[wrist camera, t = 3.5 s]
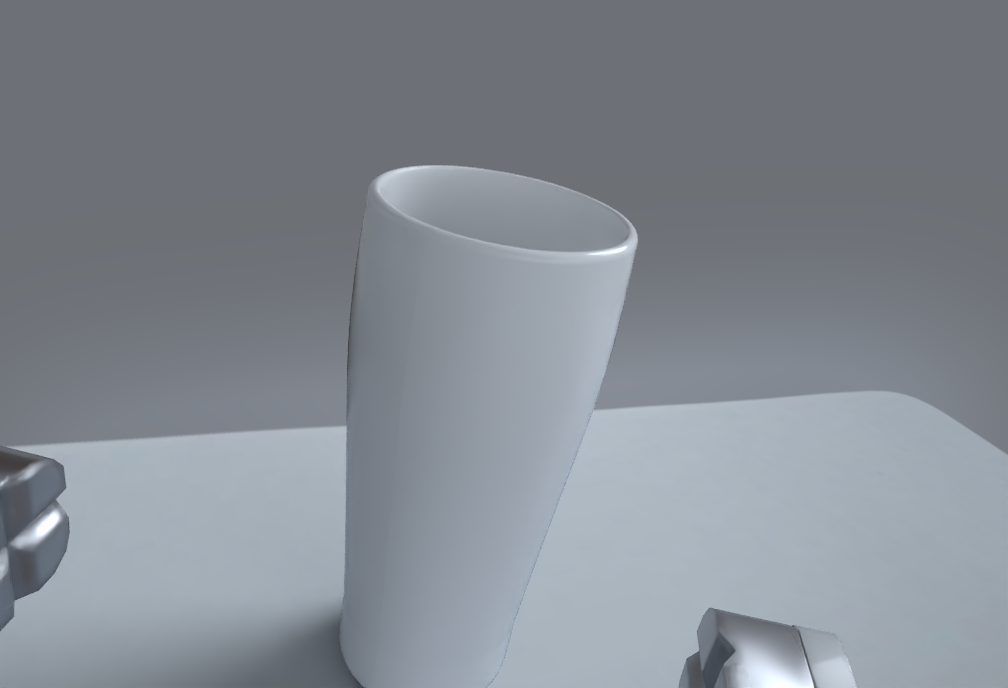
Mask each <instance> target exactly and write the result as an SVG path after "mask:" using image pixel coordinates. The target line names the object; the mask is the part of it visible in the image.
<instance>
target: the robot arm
mask: <svg viewBox="0 0 1008 688" xmlns="http://www.w3.org/2000/svg"><path fill="white" fill-rule="evenodd" d="M65 489H66V482H65V474H64V467H63V465H61V464H60V463H58V462H57V461H56V460H54V459H51V458H47V457H43V456H39V455H35V454H31V453H27V452H23V451H19V450H15V449H11V448H7V447H3V446H0V631H1V630H2V629H3V628H4V627H5V626H6V624H7V623H8V622H9V621H10V620H11V619H12V618H13V617H14V601H15V600H17V599H19V598H22V597H24V596H27V595H29V594H31V593H34V592H36V591H39V590H40V589H41V588H42V587H43V586H44V584H45V583H46V582H47V581H48V580H49V579H50V578H51V577H52V576H53V575H54V573H55V572H56V570H57V568H58V566H59V564H60V562H61V560H62V558H63V556H64V554H65V552H66V549H67V544H68V539H69V533H70V531H69V517H68V515H67V514H66V513H65V511H64V510H63V509H62V507H61V506H60V505H59V503H58V502H57V500H56V499H57V498H58V496H59V495H60V494H61V493H62V492H63V491H64V490H65ZM697 635H698V644H699V652H697V653H695V654H694V655H692V656H690V657H689V658H687V660H686V663H685V666H684V669H683V672H682V675H681V678H680V682H679V688H858V686H857V683H856V680H855V678H854V675H853V672H852V669H851V666H850V664H849V661H848V658H847V655H846V652H845V650H844V647H843V644H842V641H841V640H840V639H839V638H838V637H837V635H836V634H834V633H829V632H825V631H820V630H815V629H810V628H805V627H800V626H795V625H792V626H789V625H786V624H782V623H777V622H772V621H768V620H763V619H759V618H754V617H750V616H745V615H741V614H736V613H731V612H727V611H722V610H718V609H713V608H709V609H708V610H707V611H706V613H705V614H704V615H703V618H702V620H701V623H700V625H699V628H698V630H697Z"/></svg>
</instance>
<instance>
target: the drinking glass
mask: <svg viewBox="0 0 1008 688" xmlns="http://www.w3.org/2000/svg"><path fill="white" fill-rule="evenodd" d="M637 244H638V236H637V232H636V230H635V228H634V226H633V225H632V224H631V223H630V222H629V220H628V219H626V218H625V217H624V216H623V215H622V214H620V213H619V212H618V211H616V210H614V209H613V208H611V207H610V206H608V205H606V204H604V203H602V202H600V201H598V200H596V199H593V198H592V197H589V196H587V195H584V194H582V193H579V192H577V191H574V190H571V189H568V188H565V187H562V186H559V185H556V184H553V183H549V182H546V181H542V180H538V179H534V178H530V177H525V176H521V175H517V174H512V173H507V172H501V171H495V170H488V169H481V168H471V167H461V166H445V165H444V166H443V165H428V166H427V165H426V166H412V167H404V168H399V169H394V170H391V171H388V172H385V173H383V174H381V175H379V176H378V177H376V178H375V179H374V180H373V181H372V182H371V183H370V185H369V187H368V191H367V199H366V206H365V211H364V217H363V223H362V229H361V234H360V241H359V247H358V255H357V261H356V269H355V276H354V285H353V293H352V303H351V314H350V326H349V342H348V365H347V367H348V368H347V440H346V523H345V573H344V597H343V605H342V613H341V621H340V645H341V651H342V654H343V657H344V660H345V662H346V665H347V667H348V668H349V670H350V672H351V673H352V675H353V676H354V677H355V679H356V680H357V681H358V682H359V683H360V684H361V685H362V686H363V687H364V688H487V687H488V686H489V685H490V684H491V683H492V681H493V680H494V679H495V677H496V676H497V674H498V672H499V670H500V669H501V667H502V664H503V661H504V659H505V656H506V652H507V648H508V644H509V640H510V637H511V633H512V629H513V625H514V622H515V619H516V616H517V613H518V610H519V607H520V605H521V602H522V599H523V596H524V594H525V591H526V588H527V585H528V583H529V580H530V577H531V574H532V572H533V569H534V566H535V564H536V561H537V558H538V556H539V553H540V550H541V548H542V545H543V542H544V540H545V537H546V534H547V532H548V529H549V526H550V524H551V521H552V518H553V516H554V513H555V510H556V508H557V505H558V502H559V500H560V497H561V495H562V492H563V489H564V487H565V484H566V481H567V479H568V476H569V473H570V471H571V468H572V466H573V463H574V460H575V458H576V455H577V452H578V450H579V447H580V445H581V442H582V439H583V437H584V434H585V431H586V428H587V426H588V423H589V420H590V417H591V415H592V412H593V409H594V407H595V404H596V401H597V398H598V395H599V392H600V389H601V386H602V383H603V380H604V377H605V373H606V370H607V367H608V364H609V360H610V357H611V353H612V350H613V346H614V343H615V339H616V335H617V331H618V328H619V324H620V320H621V315H622V311H623V307H624V303H625V298H626V294H627V290H628V284H629V280H630V275H631V270H632V266H633V261H634V256H635V252H636V247H637Z"/></svg>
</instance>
